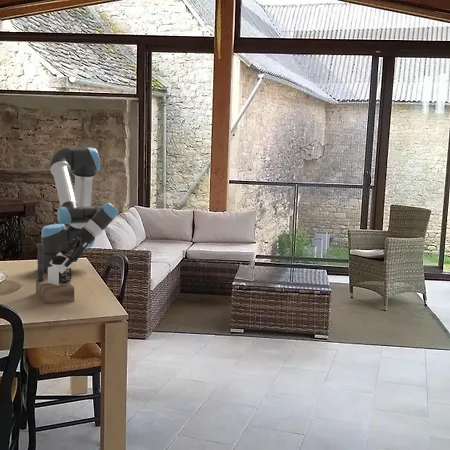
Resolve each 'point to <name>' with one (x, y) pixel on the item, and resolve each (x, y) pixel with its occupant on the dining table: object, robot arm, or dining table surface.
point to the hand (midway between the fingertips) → (55, 268)
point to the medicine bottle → (55, 275)
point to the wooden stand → (51, 285)
